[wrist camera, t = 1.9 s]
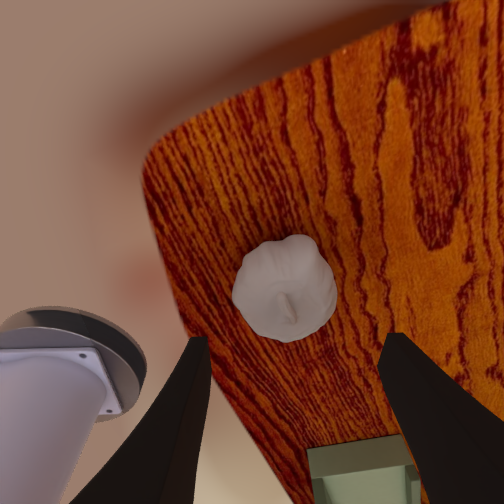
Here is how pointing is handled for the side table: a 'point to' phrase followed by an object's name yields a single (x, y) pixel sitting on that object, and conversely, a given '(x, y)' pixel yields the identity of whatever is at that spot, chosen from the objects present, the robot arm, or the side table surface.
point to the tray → (364, 473)
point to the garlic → (285, 289)
